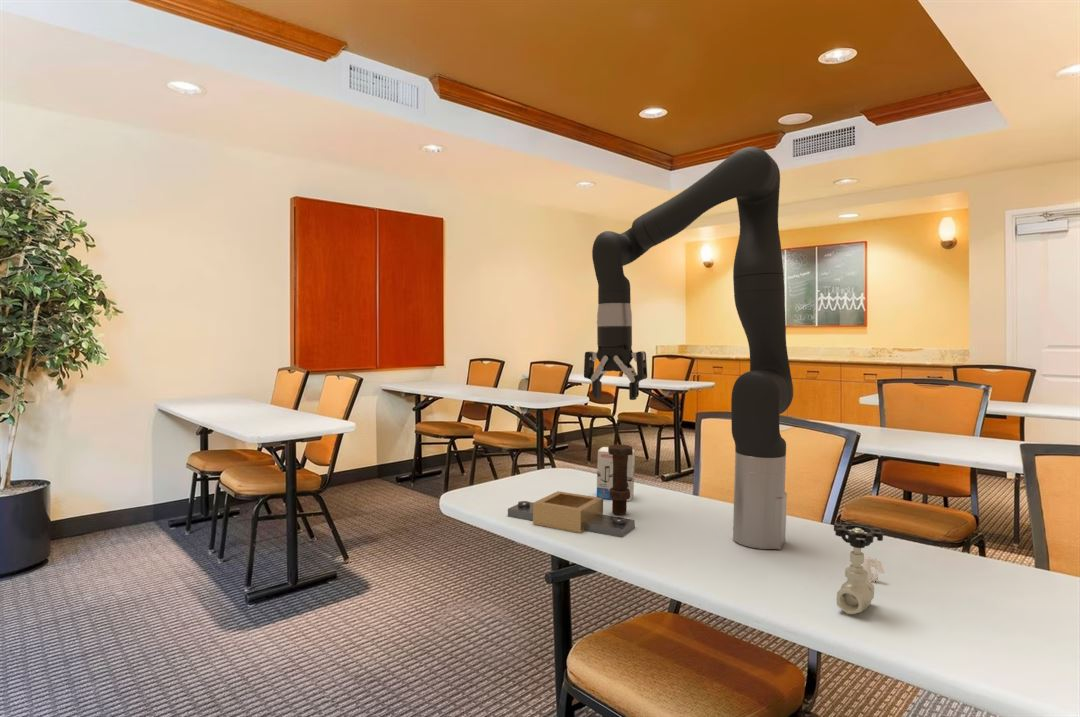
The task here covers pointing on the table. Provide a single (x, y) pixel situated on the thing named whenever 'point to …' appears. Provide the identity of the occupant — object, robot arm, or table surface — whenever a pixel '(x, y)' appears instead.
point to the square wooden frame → (566, 511)
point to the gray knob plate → (610, 525)
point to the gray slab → (522, 510)
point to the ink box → (607, 473)
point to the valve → (856, 568)
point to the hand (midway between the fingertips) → (615, 398)
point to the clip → (874, 563)
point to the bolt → (619, 478)
